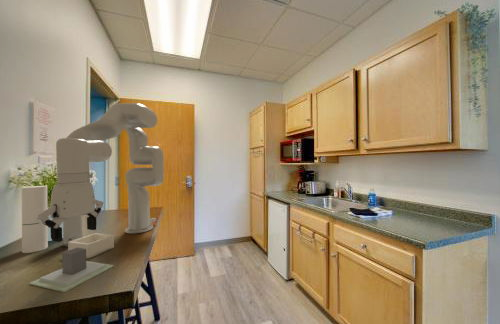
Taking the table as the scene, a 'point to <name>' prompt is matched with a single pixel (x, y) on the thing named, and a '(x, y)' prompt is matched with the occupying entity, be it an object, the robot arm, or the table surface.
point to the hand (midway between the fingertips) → (75, 234)
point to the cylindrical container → (34, 219)
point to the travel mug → (72, 229)
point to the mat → (64, 288)
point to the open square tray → (93, 244)
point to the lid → (73, 268)
